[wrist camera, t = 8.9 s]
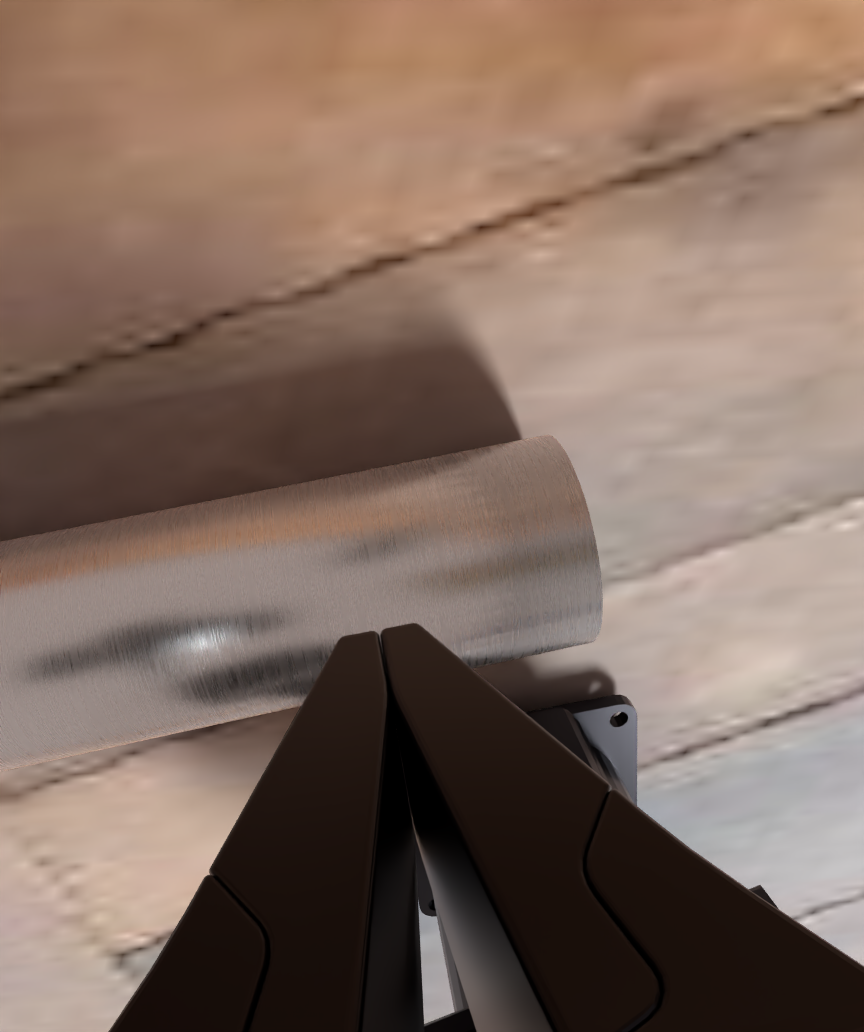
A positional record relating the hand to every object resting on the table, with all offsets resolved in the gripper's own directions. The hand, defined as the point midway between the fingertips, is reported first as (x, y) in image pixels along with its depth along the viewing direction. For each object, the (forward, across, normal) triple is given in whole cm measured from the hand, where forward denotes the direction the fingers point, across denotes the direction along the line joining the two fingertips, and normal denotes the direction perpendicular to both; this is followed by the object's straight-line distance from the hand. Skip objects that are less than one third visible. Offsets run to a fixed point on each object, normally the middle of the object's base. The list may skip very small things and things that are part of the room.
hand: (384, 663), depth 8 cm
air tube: (+8, +7, +1) cm, 11 cm away
